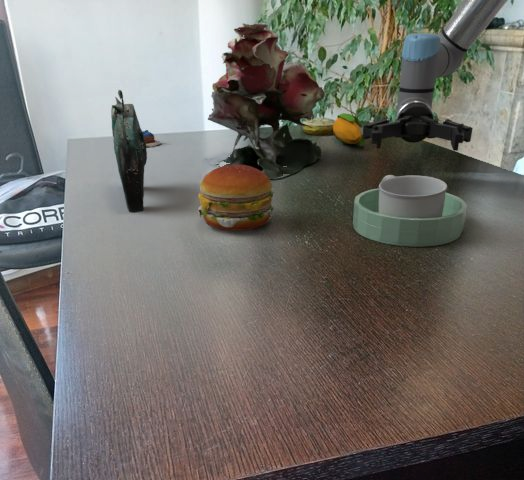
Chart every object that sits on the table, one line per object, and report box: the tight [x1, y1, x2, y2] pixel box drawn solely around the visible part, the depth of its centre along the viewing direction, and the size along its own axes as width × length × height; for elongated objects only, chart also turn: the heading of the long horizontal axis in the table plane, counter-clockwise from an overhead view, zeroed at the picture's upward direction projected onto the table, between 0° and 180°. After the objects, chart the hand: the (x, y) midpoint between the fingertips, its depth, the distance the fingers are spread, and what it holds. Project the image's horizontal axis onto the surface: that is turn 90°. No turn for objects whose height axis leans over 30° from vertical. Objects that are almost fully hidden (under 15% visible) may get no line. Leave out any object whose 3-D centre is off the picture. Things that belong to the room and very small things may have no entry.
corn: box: [332, 112, 366, 147], centre depth 155 cm, size 7×8×20 cm
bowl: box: [352, 187, 468, 248], centre depth 98 cm, size 19×19×4 cm
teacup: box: [378, 174, 448, 218], centre depth 96 cm, size 14×11×8 cm
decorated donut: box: [301, 117, 336, 136], centre depth 171 cm, size 10×11×4 cm
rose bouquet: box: [207, 22, 326, 180], centre depth 133 cm, size 26×29×30 cm
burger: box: [197, 165, 275, 231], centre depth 100 cm, size 14×14×10 cm
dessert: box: [142, 129, 162, 148], centre depth 159 cm, size 8×7×6 cm
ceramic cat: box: [110, 89, 148, 213], centre depth 111 cm, size 20×6×20 cm, turn 12°
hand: (417, 141), depth 102 cm, fingers open, 13 cm apart
